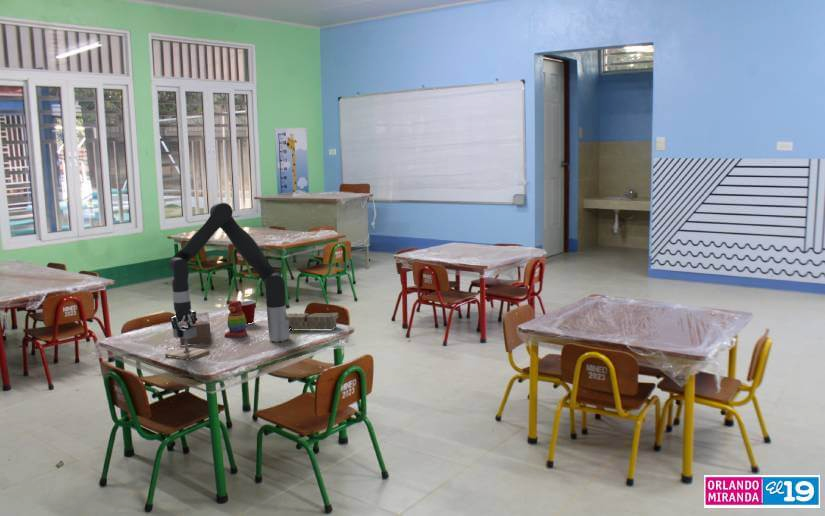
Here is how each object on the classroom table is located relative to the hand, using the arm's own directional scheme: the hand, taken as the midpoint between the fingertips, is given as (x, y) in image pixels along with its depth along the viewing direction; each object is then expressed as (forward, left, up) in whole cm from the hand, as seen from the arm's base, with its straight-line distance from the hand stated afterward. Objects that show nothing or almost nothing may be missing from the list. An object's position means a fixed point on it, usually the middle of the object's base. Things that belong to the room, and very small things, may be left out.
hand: (185, 335), depth 337 cm
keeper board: (0, 0, -9) cm, 9 cm away
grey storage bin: (0, 0, 0) cm, 0 cm away
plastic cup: (+13, -56, -10) cm, 58 cm away
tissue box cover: (+19, -24, -10) cm, 32 cm away
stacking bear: (+2, -36, -10) cm, 37 cm away
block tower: (-27, -58, -10) cm, 65 cm away
